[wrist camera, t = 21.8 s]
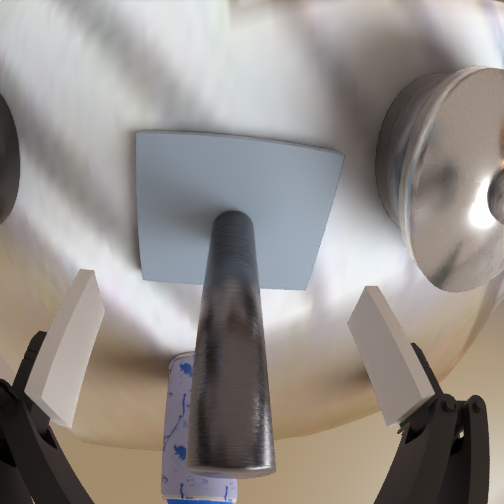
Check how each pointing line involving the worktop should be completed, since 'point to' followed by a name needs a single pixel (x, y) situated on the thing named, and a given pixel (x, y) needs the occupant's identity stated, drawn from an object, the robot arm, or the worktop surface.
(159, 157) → the plate
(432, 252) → the disc
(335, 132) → the worktop surface
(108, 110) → the worktop surface
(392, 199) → the cylinder
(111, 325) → the worktop surface
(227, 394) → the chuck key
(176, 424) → the aerosol can
